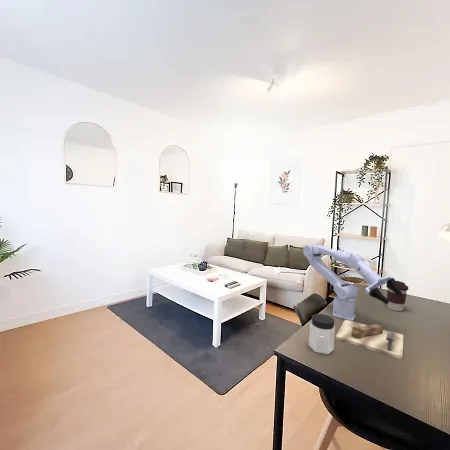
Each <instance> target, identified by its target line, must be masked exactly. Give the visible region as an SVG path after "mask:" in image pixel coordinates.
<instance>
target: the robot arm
mask: <svg viewBox="0 0 450 450" xmlns="http://www.w3.org/2000/svg"><path fill="white" fill-rule="evenodd" d="M302 249H303V252H302V253H303V256H304V257H305V258H306V259H307V261H308V263H309V265H310V266H311V267H312V268H313V269H314V270H315V271H316V272H317V273H319V274H320V276H321V277H323V278H324V279H325V280H326V281H327V282H328V283H330V285H331V286H333V292H335V294H336V295H337V296H335V297H334V299H333V305H332V306H333V307H332V315H331V316H333V317H336V318H339V319H342V320H343V319H344V320H349V321H353V322H354V320H355V318H356V314H355V304H356V298H357V296H358V295H359V288H358V287H357V286H356V285H355V284H351V283H350V282H349V281H346V280H343V279H342V278H341V277H340V276H338V275H337V274H336V273H335V271H333V270H331V268H329V267H328V266H327V265H326V264H325V263H323V261H322V255H326V256H328V257H329V256H330V257H332V258H333V259H334V260H335V261H337V262H339V263H342V264H344V265H347V267H348V268H350V269H353V270H354V271H355V272H356V273H358V274H359V275H360V276H361V277H362V279H364V280H365V282H366V283H367V284H368V286H367V287H366V288H365V289H364V292H365V294H367V295H368V296H369V297H372V298H374V299H377V300H379V301H381V302H382V303H384V304H385V305H387V304H388V303H389V301H388V299H387V296H385V295H384V294H383V293H382V292H381V291H380V289H379V288H380V287H382V286H384V285H385V284H386V288H387V289H388V288H389V289H391V290H392V291H393V292H395V293H396V294H397V295H398V296H399V297H400V296H402V294H403V293H402V292H401V291H400V289H399V288H398V286H397V284H396V282H395V281H396V279H395V278H394V277H393V276H392V275H391V274H388V275H386V276H384V277H382V276H381V275H379V274H378V273H377V272H376V271H375V270H374V269H373V268H372V267H370V266H369V265H368V264H367V263H366V262H365V260H364V258H363V256H361V255H359V254H353V252H348V251H347V252H346V251H345V250H344V249H338V250H334V249H332V248H330V247H327V246H325V245H322V244H318V243H316V244H305V245H304V246H303V248H302Z"/></svg>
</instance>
